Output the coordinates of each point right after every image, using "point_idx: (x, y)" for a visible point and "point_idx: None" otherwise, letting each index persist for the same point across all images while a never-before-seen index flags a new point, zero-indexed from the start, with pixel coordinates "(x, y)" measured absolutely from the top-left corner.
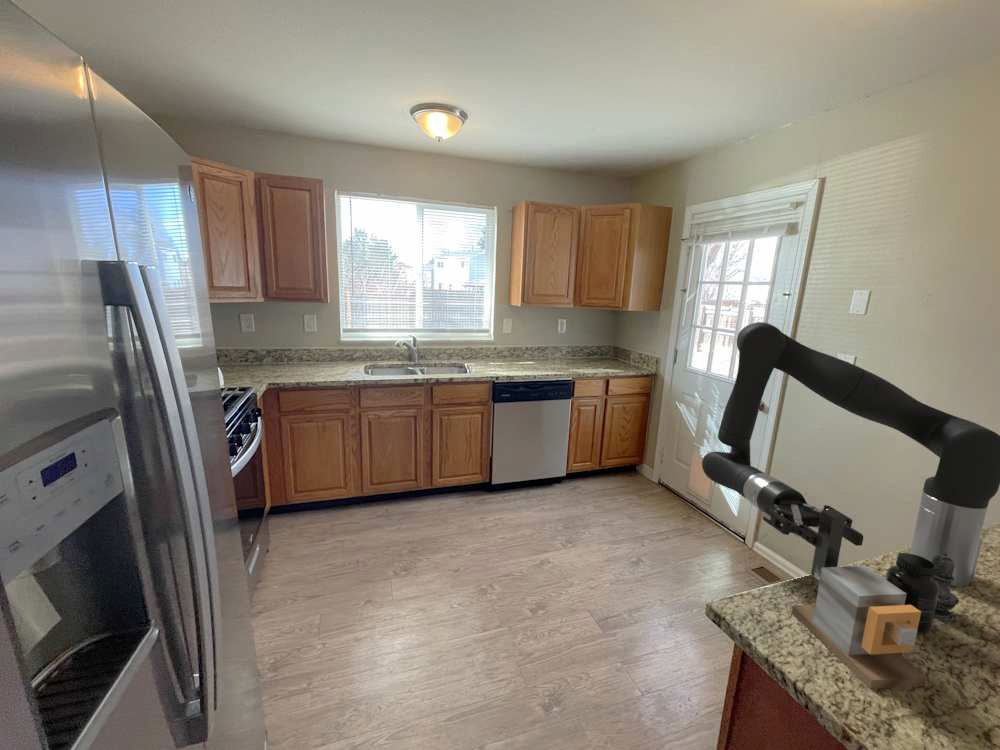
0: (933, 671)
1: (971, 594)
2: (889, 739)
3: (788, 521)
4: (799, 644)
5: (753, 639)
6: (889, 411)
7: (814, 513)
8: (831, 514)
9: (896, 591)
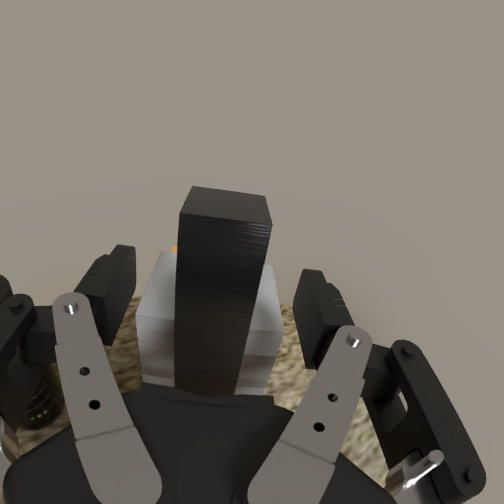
0: (124, 338)
1: None
2: (280, 304)
3: (402, 349)
4: (297, 407)
5: (369, 416)
6: None
7: (134, 418)
8: (245, 203)
9: (174, 257)
